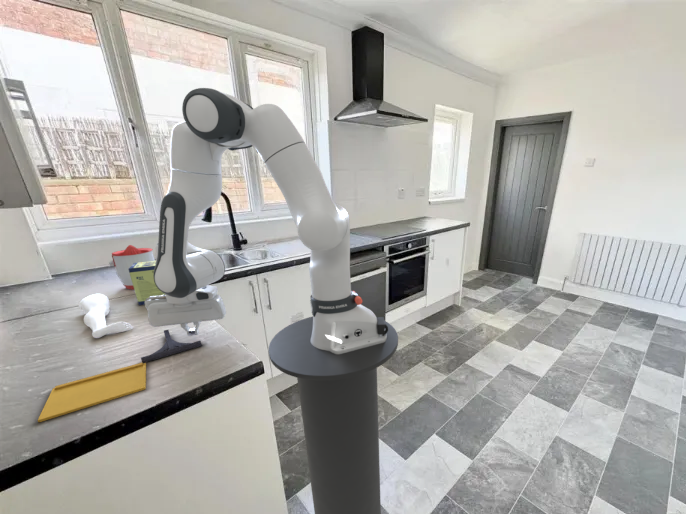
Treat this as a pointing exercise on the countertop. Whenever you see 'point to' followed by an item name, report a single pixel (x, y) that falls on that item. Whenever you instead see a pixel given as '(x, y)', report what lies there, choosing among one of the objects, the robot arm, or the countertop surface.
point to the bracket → (170, 348)
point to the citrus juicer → (129, 262)
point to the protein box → (144, 281)
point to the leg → (100, 316)
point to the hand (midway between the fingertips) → (193, 334)
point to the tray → (94, 390)
